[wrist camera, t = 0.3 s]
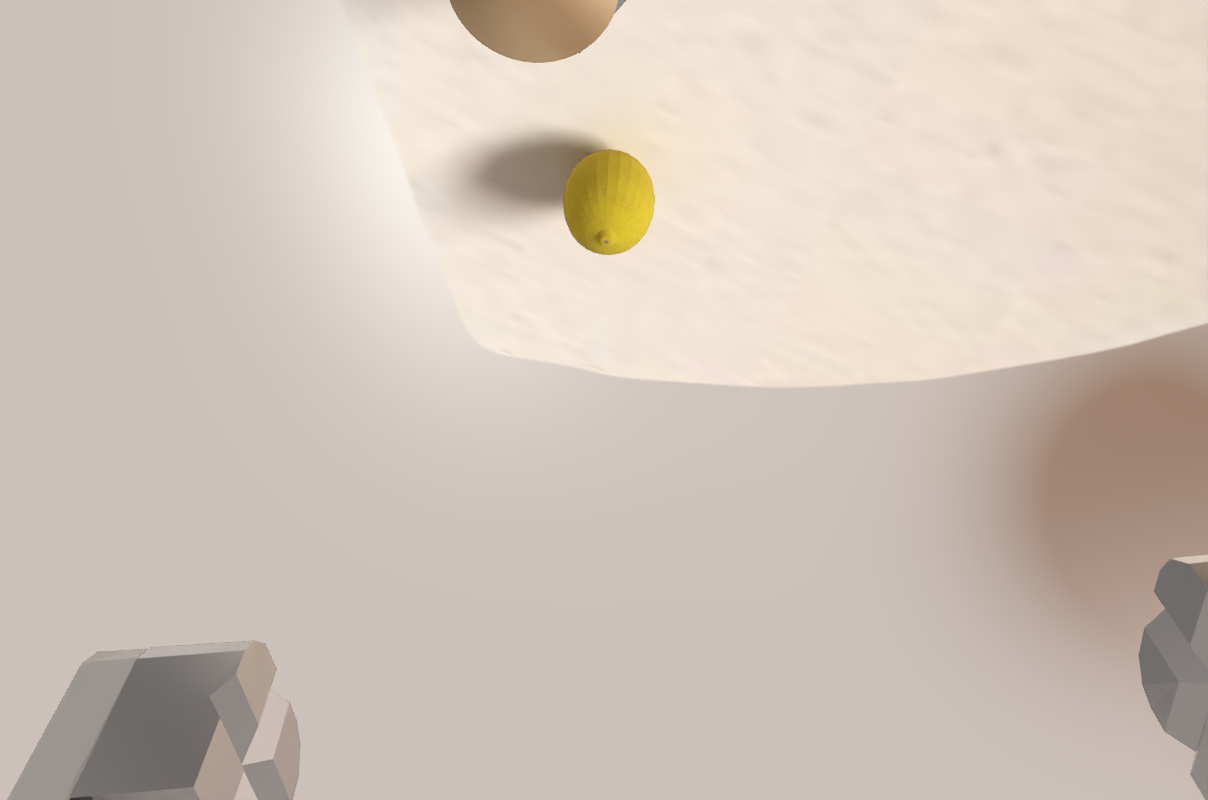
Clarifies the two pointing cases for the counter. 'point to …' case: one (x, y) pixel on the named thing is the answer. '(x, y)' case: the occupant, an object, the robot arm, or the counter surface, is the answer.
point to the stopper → (535, 26)
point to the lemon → (608, 202)
